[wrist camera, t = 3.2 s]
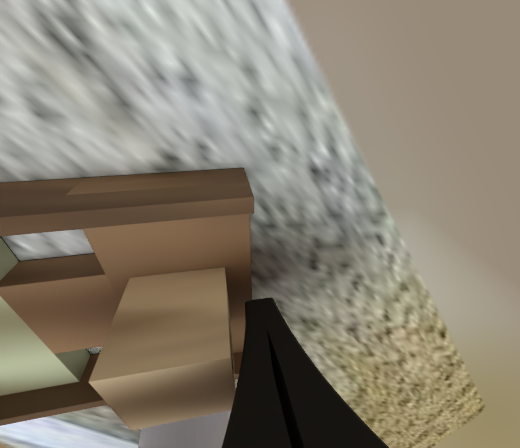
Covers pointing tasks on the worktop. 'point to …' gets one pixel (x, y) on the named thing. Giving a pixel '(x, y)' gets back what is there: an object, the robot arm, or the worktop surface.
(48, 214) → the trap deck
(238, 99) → the worktop surface
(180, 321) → the maple cube
